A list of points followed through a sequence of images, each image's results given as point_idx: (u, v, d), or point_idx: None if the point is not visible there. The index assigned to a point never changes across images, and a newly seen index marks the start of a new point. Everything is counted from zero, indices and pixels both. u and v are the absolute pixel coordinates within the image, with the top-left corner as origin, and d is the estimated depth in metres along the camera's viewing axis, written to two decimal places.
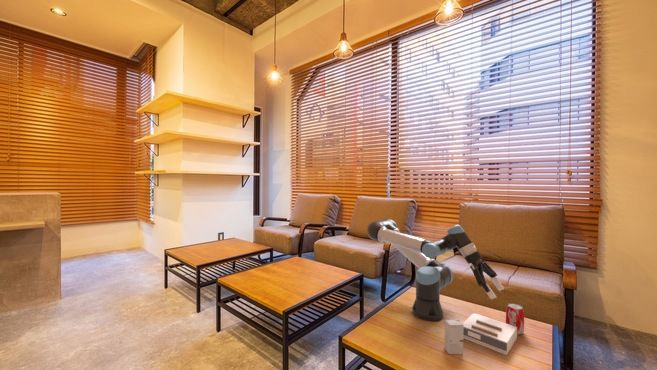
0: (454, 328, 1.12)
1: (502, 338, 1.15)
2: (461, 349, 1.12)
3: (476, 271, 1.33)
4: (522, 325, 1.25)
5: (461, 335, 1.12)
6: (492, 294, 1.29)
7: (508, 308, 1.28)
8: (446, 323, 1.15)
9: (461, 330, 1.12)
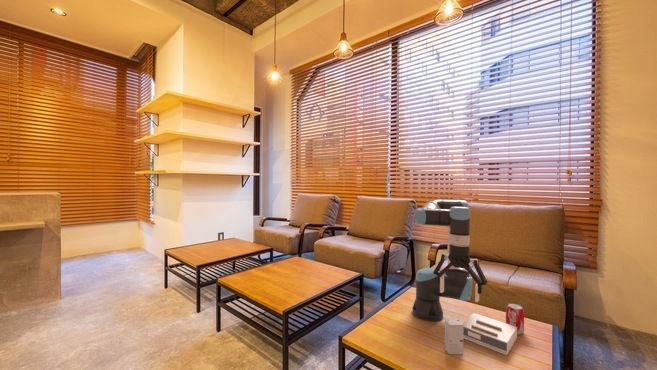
0: (454, 328, 1.12)
1: (502, 338, 1.15)
2: (461, 349, 1.12)
3: (440, 261, 1.18)
4: (522, 325, 1.25)
5: (461, 335, 1.12)
6: None
7: (508, 308, 1.28)
8: (446, 323, 1.15)
9: (461, 330, 1.12)
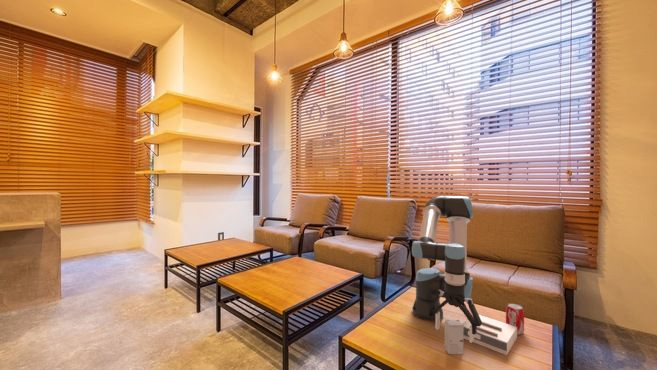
0: (454, 328, 1.12)
1: (502, 338, 1.15)
2: (461, 349, 1.12)
3: (435, 297, 1.18)
4: (522, 325, 1.25)
5: (461, 335, 1.12)
6: None
7: (508, 308, 1.28)
8: (446, 323, 1.15)
9: (461, 330, 1.12)
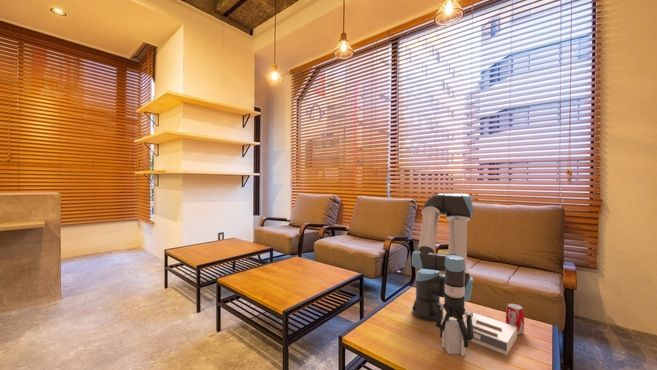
0: (454, 328, 1.12)
1: (502, 338, 1.15)
2: None
3: None
4: (522, 325, 1.25)
5: (461, 335, 1.12)
6: None
7: (508, 308, 1.28)
8: (446, 323, 1.15)
9: None
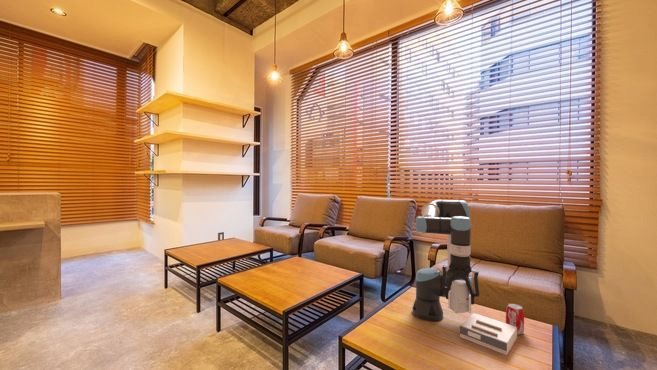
0: (461, 287, 1.13)
1: (502, 338, 1.15)
2: (467, 307, 1.13)
3: (443, 274, 1.17)
4: (522, 325, 1.25)
5: (467, 293, 1.13)
6: None
7: (508, 308, 1.28)
8: (452, 283, 1.15)
9: (467, 288, 1.13)
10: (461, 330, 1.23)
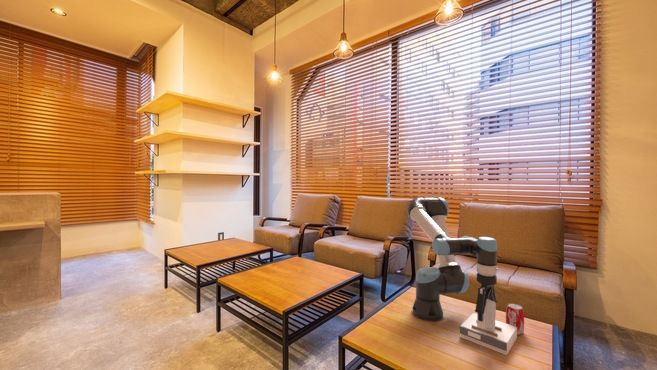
0: None
1: (502, 338, 1.15)
2: None
3: (482, 297, 1.15)
4: (522, 325, 1.25)
5: None
6: (482, 324, 1.15)
7: (508, 308, 1.28)
8: (489, 303, 1.19)
9: None
10: (461, 330, 1.23)
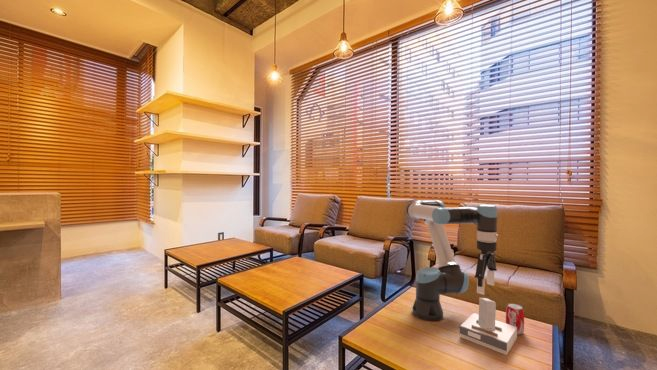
0: None
1: (502, 338, 1.15)
2: None
3: (482, 263, 1.15)
4: (522, 325, 1.25)
5: None
6: (482, 290, 1.15)
7: (508, 308, 1.28)
8: (489, 303, 1.19)
9: None
10: (461, 330, 1.23)
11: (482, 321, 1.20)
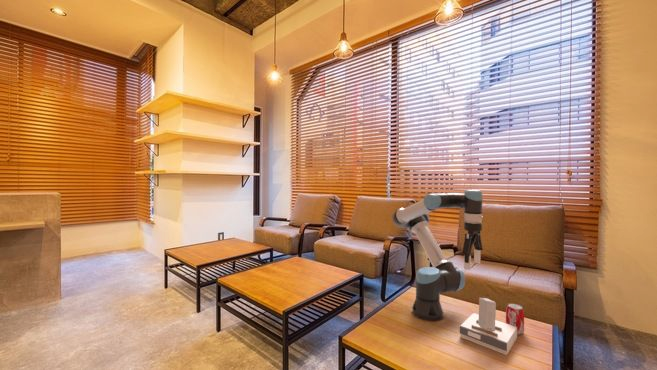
0: None
1: (502, 338, 1.15)
2: None
3: (468, 241, 1.28)
4: (522, 325, 1.25)
5: None
6: (468, 266, 1.28)
7: (508, 308, 1.28)
8: (489, 303, 1.19)
9: None
10: (461, 330, 1.23)
11: (482, 321, 1.20)
